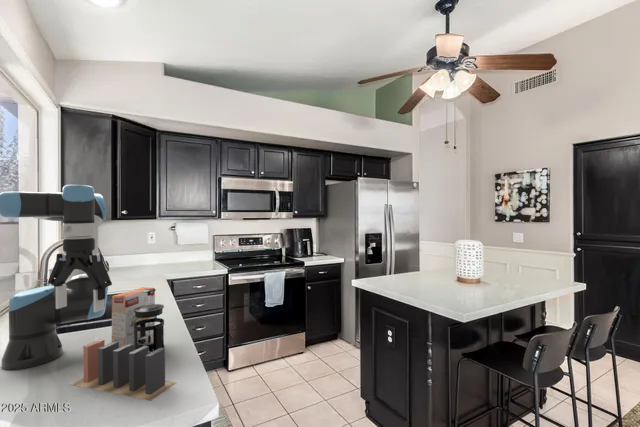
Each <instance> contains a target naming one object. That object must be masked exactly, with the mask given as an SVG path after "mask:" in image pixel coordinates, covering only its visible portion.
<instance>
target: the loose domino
mask: <svg viewBox="0 0 640 427" xmlns="http://www.w3.org/2000/svg"><path fill="white" fill-rule="evenodd" d="M105 345H106V344H105V339H98V340H95V341H93V342H91V343H87V344H86V345H83V347H82V348H83V378H84V382H87V383H88V382H90V381H92V380H94V379H96V378H98V348H100V347H103V346H105Z"/></svg>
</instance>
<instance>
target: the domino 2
mask: <svg viewBox="0 0 640 427" xmlns="http://www.w3.org/2000/svg"><path fill="white" fill-rule="evenodd" d="M132 351H134V344H127V345H125V346H123V347H120V348H118V349H116V350H114V351H113V388H120V387H121V386H123V385H125V384H127V383H128V382H129V353H130V352H132Z"/></svg>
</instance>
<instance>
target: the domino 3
mask: <svg viewBox="0 0 640 427" xmlns="http://www.w3.org/2000/svg"><path fill="white" fill-rule="evenodd" d="M149 353H150V351H149V346H143V347H141V348H139V349H136V350H134V351H132V352H130V353H129V391H133V392H134V391H136V390H137V389H139V388H141V387H142V386H144V385H145V384H146V381H145V355H147V354H149Z"/></svg>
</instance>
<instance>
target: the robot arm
mask: <svg viewBox="0 0 640 427" xmlns="http://www.w3.org/2000/svg"><path fill="white" fill-rule="evenodd" d="M106 210H107V209H106V202H105V199H104V197H103V195H102V194H100V193H95V188H94V187H93V186H91V185H85V184H82V185H81V184H66V185H64V186H63V187H62V192H44V191H43V192H42V191H40V192H36V191H17V190H14V191H3V192H0V216H1V217H4V218H14V219H15V218H16V219H17V218H34V219H37V220H45V221H53V222H62V237H64V239H63V240H62V251H63V252H62V253H61V252H60V253H56V258H55V259H56V260H55V263H54V266H53V267H52V271H51V273H50V275H49V278H48V281H47V283H48V284H49V285H45V286H39V287H35V288H30V289H27V290H23V291H20V292H17V293H15V294H14V295H12V296H11V297H10V299H9V303H8V304H9V305H8V309H7V312H8V343H7V345H6V348H5V350H4V353H3V355H2V357H1V368H2V369H3V370H12V371H13V370H21V369H28V368H32V367H36V366H39V365H42V364H45V363H48V362H51V361H53V360H55V359H58V358H59V357H60V356H62V354H63V353H64V352H63V349H64V348H63V344H62V342H61V339H60V338H59V336H58V333H57V327H56V325H61V324H68V323H72V322H79V321H87V320H91V319H96V318H101V317H102V316H104V314H105V311H106V306H107V299H108V290H109V287H110V286H112V285H113V282H112V280H111V278H110V276H109V273H108V270H107V268H106V266H105V263H104V259H103V255H102V253H99V227H100V226H102V224H103V222H104V221H106V220H107V211H106ZM68 279H69V280H68Z"/></svg>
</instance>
